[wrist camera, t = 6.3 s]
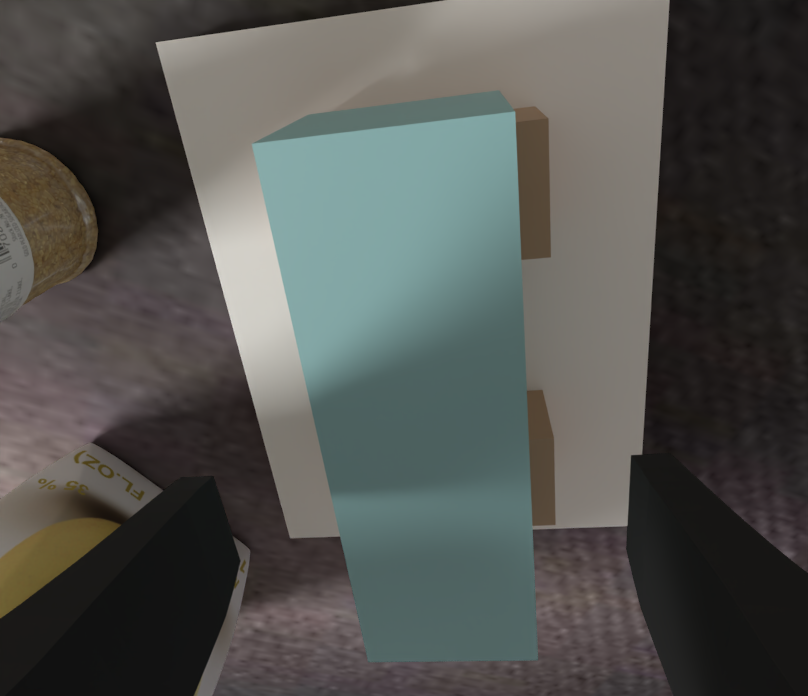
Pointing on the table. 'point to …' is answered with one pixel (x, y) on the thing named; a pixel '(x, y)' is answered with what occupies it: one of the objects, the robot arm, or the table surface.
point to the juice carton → (84, 531)
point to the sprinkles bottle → (40, 224)
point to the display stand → (538, 208)
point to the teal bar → (415, 363)
